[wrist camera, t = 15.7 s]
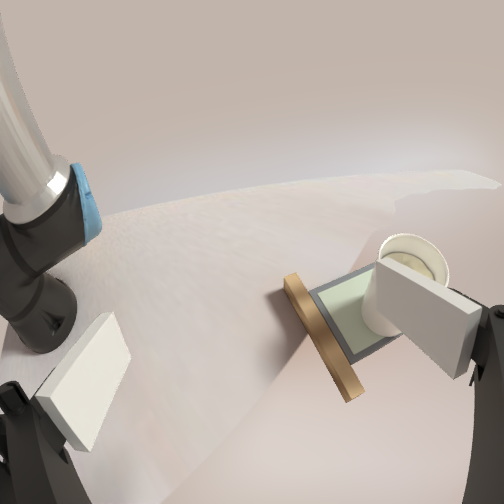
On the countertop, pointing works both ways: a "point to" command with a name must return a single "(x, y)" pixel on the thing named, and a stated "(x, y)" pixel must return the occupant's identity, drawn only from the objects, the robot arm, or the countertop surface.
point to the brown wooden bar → (323, 339)
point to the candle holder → (413, 256)
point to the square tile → (349, 314)
